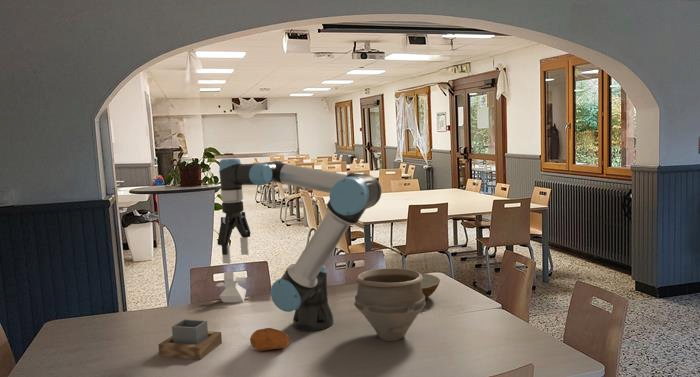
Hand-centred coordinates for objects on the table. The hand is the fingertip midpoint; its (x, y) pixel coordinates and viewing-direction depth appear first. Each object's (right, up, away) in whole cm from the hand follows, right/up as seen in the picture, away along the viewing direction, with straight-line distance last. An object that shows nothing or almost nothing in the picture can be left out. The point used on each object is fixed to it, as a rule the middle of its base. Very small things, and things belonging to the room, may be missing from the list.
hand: (236, 258), depth 189 cm
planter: (+56, -26, -10) cm, 62 cm away
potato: (+15, -28, -17) cm, 36 cm away
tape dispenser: (-10, -24, +39) cm, 47 cm away
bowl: (+67, -21, +30) cm, 77 cm away
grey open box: (-12, -28, -14) cm, 33 cm away
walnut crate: (-12, -29, -14) cm, 34 cm away
